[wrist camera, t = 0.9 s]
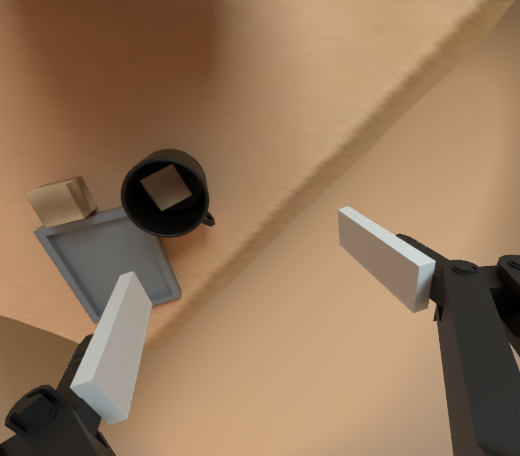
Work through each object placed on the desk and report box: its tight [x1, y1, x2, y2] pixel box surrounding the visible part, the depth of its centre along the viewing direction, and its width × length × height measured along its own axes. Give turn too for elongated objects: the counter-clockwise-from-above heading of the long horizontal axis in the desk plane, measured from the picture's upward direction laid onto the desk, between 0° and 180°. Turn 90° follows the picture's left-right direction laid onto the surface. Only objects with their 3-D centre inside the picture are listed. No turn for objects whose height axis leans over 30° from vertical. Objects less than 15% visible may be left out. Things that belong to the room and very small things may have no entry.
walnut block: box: [140, 162, 192, 211], centre depth 33 cm, size 4×4×4 cm
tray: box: [34, 207, 181, 324], centre depth 38 cm, size 17×14×2 cm
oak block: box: [24, 177, 97, 228], centre depth 32 cm, size 4×4×4 cm
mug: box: [121, 149, 215, 238], centre depth 32 cm, size 9×12×9 cm
